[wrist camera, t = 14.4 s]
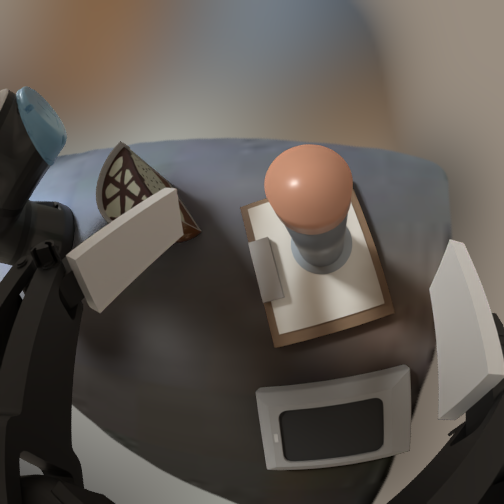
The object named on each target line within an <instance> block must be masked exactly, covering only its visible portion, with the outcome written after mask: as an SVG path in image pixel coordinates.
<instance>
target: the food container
mask: <svg viewBox="0 0 504 504" xmlns="http://www.w3.org/2000/svg"><path fill="white" fill-rule="evenodd" d="M164 188H173V187H172V186H171V184H170V183H169V182H168V181H167V180H166V179H165V178H164V177H162V176H161V175H160V174H159V173H158V172H156V171H155V170H154V169H153V168H152V167H151V166H149V165H148V164H147V163H146V162H145V161H143V160H142V159H141V158H140V157H139V156H138V155H136V154H135V153H134V152H133V151H132V150H130V147H129V146H127V145H126V144H124V143H122V142H121V141H120V142H119V143H118V144H117V146H115V148H114V149H113V150H112V152H111V153H110V154H109V156H108V158H107V159H106V161H105V163H104V165H103V167H102V169H101V172H100V175H99V178H98V182H97V187H96V201H97V206H98V209H99V211H100V213H101V215H102V216H103V218H104V219H105V220H106V222H107V223H111V222H112V221H113V220H115V219H116V218H118V217H119V216H121V215H122V214H124V213H125V212H127V211H128V210H130V209H132V208H133V207H135V206H136V205H138V204H139V203H141V202H142V201H144V200H146V199H147V198H149V197H150V196H152V195H154V194H155V193H157V192H159V191H160V190H162V189H164ZM178 202H179V209H180V215H181V222H182V228H183V234H184V235H183V236H182V237H180V238H179V239H178V240H177V241H176V242H184V241H187V240H190V239H192V238H194V237H196V236H197V235H198V234H200V233H201V232H202V231H201V230H200V228H199V227H198V225H197V224H196V222H195V221H194V219H193V218H192V216H191V215H190V213H189V212H188V210H187V209H186V207H185V206H184V204H183V203H182V201H181V200H180V198H179V197H178Z"/></svg>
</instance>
